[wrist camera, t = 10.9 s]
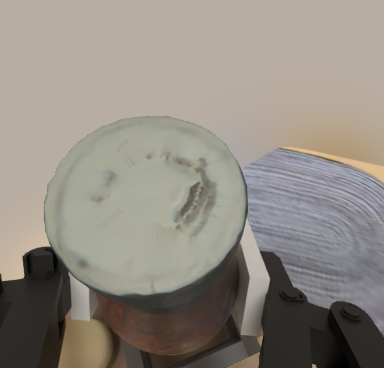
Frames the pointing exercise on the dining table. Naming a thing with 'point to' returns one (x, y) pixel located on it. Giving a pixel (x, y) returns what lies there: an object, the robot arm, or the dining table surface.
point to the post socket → (145, 361)
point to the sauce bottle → (152, 229)
